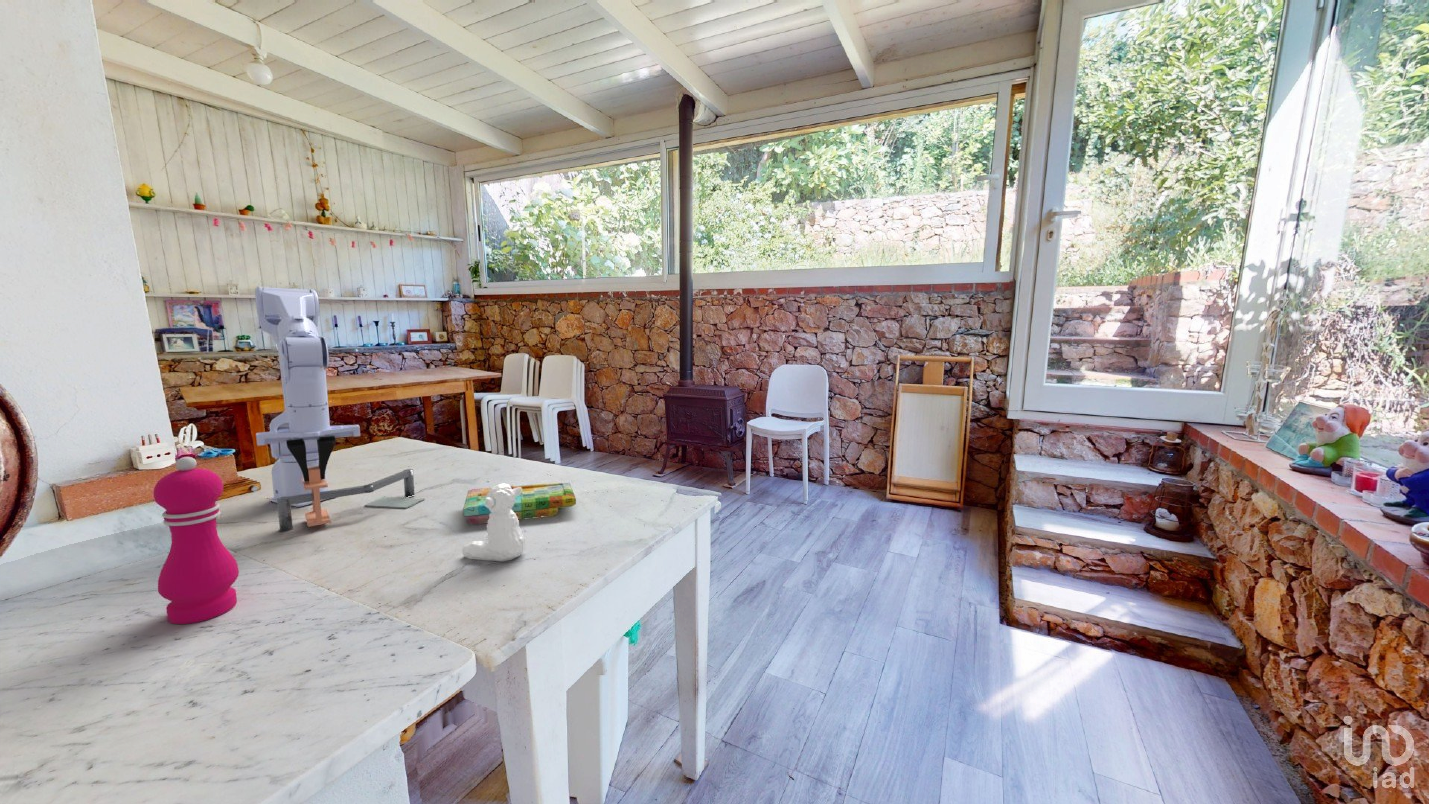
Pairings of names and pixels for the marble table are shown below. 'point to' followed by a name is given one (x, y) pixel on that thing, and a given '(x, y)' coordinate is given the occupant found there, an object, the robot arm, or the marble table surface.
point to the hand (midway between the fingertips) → (314, 479)
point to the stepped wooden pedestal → (316, 497)
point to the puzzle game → (522, 501)
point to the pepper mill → (194, 546)
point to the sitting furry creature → (499, 528)
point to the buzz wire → (340, 495)
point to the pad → (393, 502)
